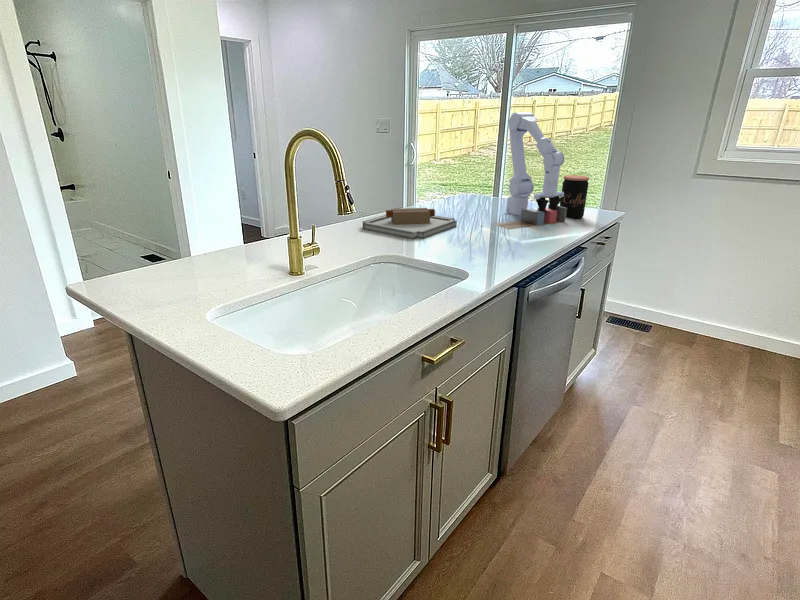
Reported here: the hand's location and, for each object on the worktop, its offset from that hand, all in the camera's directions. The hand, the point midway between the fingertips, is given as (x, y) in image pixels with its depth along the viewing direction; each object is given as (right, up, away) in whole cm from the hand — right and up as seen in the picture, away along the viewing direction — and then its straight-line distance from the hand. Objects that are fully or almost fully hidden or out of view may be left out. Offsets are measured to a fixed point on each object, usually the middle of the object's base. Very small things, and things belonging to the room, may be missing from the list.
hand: (546, 214), depth 198 cm
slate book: (-6, -4, -2) cm, 7 cm away
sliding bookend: (-9, -4, -3) cm, 10 cm away
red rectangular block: (0, -2, +1) cm, 3 cm away
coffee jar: (+15, +1, +12) cm, 19 cm away
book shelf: (-8, -5, -2) cm, 10 cm away
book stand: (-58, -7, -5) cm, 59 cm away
